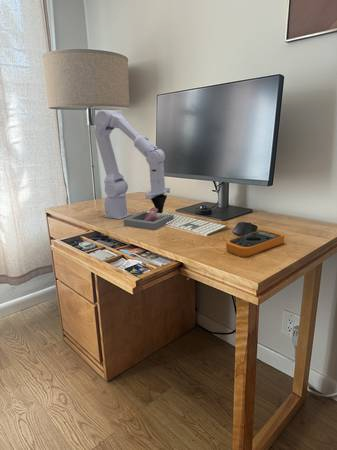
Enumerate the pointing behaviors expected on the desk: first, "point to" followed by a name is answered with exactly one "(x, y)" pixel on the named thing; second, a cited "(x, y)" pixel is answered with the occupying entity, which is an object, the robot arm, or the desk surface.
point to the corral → (140, 223)
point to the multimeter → (254, 242)
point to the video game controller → (151, 215)
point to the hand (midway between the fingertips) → (159, 212)
